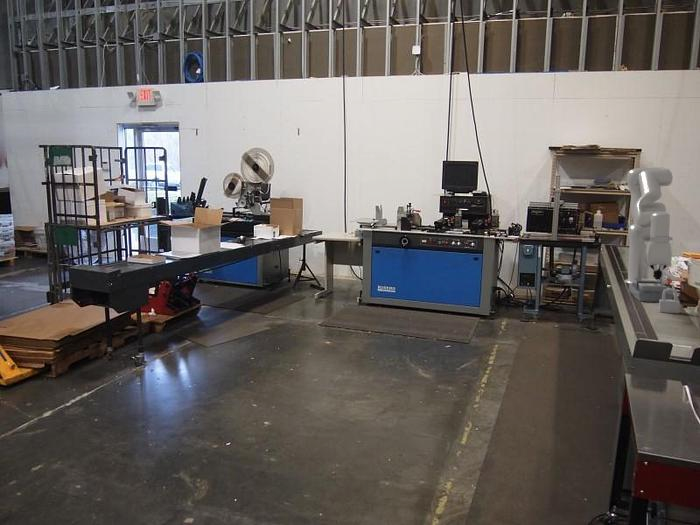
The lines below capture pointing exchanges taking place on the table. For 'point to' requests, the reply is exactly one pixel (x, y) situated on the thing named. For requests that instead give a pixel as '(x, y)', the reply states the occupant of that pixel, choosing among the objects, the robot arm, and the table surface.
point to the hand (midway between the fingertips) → (657, 279)
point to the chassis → (648, 290)
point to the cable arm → (667, 276)
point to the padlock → (669, 303)
